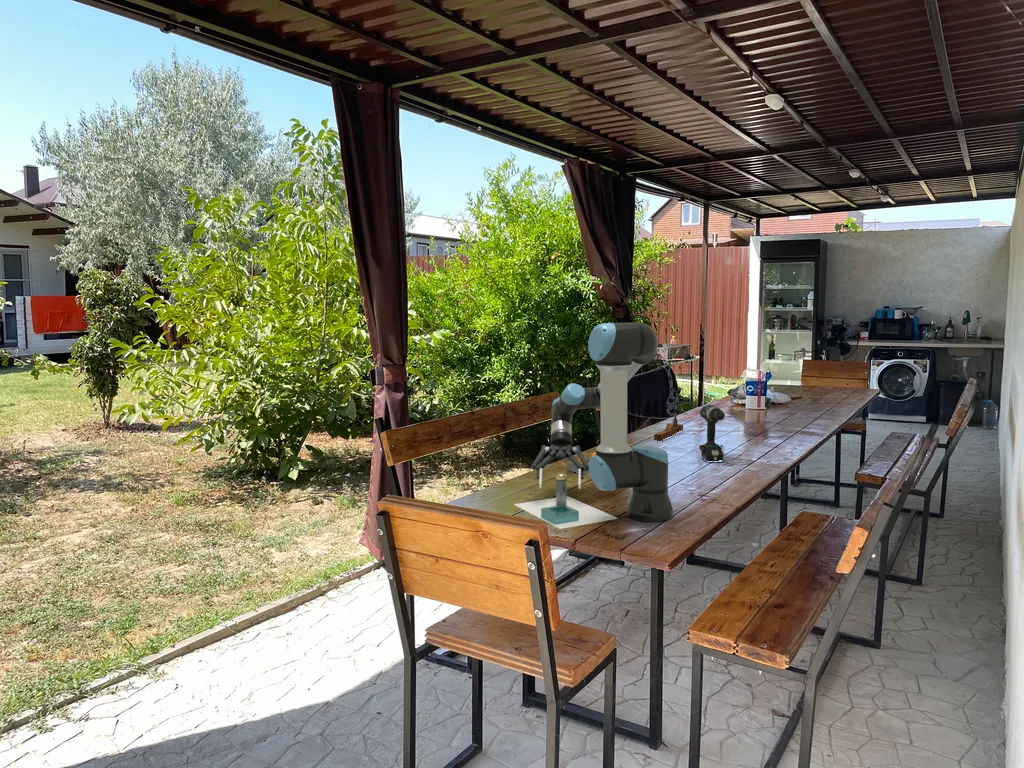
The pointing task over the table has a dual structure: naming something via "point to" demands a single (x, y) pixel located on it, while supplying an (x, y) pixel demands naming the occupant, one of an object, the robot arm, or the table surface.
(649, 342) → the robot arm
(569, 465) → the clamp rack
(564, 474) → the gold capped grey cylinder
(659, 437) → the hand plane
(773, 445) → the table surface
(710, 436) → the power drill
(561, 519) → the teal square frame
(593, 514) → the board
